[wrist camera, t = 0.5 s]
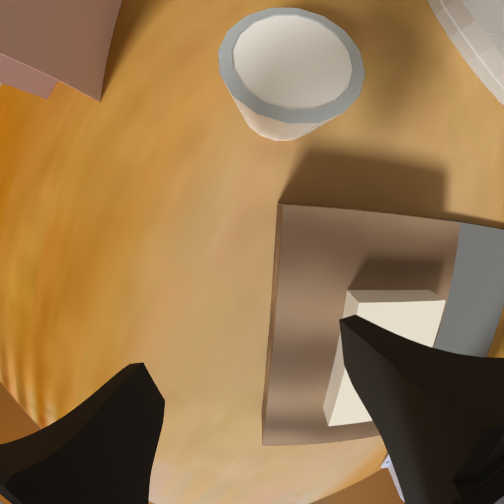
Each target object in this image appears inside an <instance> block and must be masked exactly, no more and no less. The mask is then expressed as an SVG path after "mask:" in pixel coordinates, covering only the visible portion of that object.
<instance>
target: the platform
mask: <svg viewBox="0 0 504 504" xmlns="http://www.w3.org/2000/svg"><path fill="white" fill-rule="evenodd" d="M459 229H460V223H456V222H451V221H446V220H441V219H435V218H429V217H422V216H415V215H407V214H399V213H390V212H381V211H372V210H362V209H352V208H341V207H329V206H316V205H303V204H287V203H277V218H276V236H275V253H274V268H273V283H272V298H271V311H270V325H269V337H268V349H267V361H266V373H265V384H264V394H263V405H262V445H265V446H279V445H307V444H320V443H331V442H340V441H348V440H355V439H361V438H368V437H373V436H379V435H380V433H379V431H378V429H377V427H376V426H375V424H374V422H373V421H368V422H361V423H354V424H345V425H336V426H328V423H327V420H326V416H325V413H324V409H323V405H324V401H325V397H326V394H327V390H328V386H329V381H330V377H331V373H332V369H333V364H334V360H335V355H336V350H337V345H338V340H339V335H340V324H339V319H343V313H344V307H345V301H346V294H347V290H430V291H432V292H433V293H435V294H437V295H438V296H440V297H441V298H443V299H445V300H446V301H445V305H444V309H443V313H442V317H441V321H440V324H439V328H438V331H437V334H436V338H435V341H434V344H433V348H434V345H435V342H436V339H437V336H438V333H439V329H440V326H441V322H442V319H443V315H444V311H445V307H446V303H447V299H448V295H449V290H450V286H451V281H452V276H453V271H454V265H455V259H456V252H457V245H458V238H459Z"/></svg>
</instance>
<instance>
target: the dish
mask: <svg viewBox="0 0 504 504" xmlns="http://www.w3.org/2000/svg"><path fill="white" fill-rule="evenodd" d="M427 1H428V3H429V5H430V7H431V9H432V11H433V13H434V15H435V17H436V18H437V20H438V21H439V23H440V24H441V26H442V27H443V29H444V31H445V32H446V34H447V36H448V37H449V39H450V40H451V41H452V43H453V44H454V45H455V47H456V48H457V50H458V51H459V52H460V54H461V55H462V57H463V58H464V60H465V61H466V62H467V64H468V65H469V66H470V67H471V68H472V70H473V71H474V72H475V73H476V75H477V76H478V77H479V79H480V80H481V81H482V83H483V84H484V85H485V86H486V87H487V88H488V89H489V90H490V91H491V93H492V94H493V95H494V96H495V97H496V98H497V99H498V100H499V102H500V103H501V104H503V105H504V0H427Z"/></svg>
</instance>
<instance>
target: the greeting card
mask: <svg viewBox="0 0 504 504" xmlns="http://www.w3.org/2000/svg"><path fill="white" fill-rule="evenodd" d="M121 3H122V0H0V83H3V84H6V85H9V86H12V87H15V88H17V89H20V90H23V91H26V92H29V93H32V94H34V95H37V96H40V97H43V98H45V99H47V98H48V97H49V95H50V93H51V92H52V90H53V88H54V87H55V85H56V83H57V82H58V81H60V82H62V83H64V84H66V85H68V86H70V87H72V88H74V89H76V90H78V91H80V92H82V93H84V94H86V95H88V96H90V97H92V98H93V99H95V100H97V101H99V102H100V101H101V94H102V87H103V80H104V74H105V68H106V63H107V58H108V53H109V48H110V44H111V40H112V35H113V31H114V28H115V24H116V20H117V17H118V13H119V10H120V6H121Z"/></svg>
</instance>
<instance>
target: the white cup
mask: <svg viewBox="0 0 504 504" xmlns="http://www.w3.org/2000/svg"><path fill="white" fill-rule="evenodd" d="M218 55H219V71H220V76H221V77H222V79H223V81H224V83H225V84H226V86H227V88H228V90H229V92H230V93H231V95H232V97H233V99H234V101H235V103H236V104H237V106H238V108H239V110H240V112H241V114H242V115H243V117H244V119H245V121H246V122H247V124H248V126H249V127H250V128H252V129H253V130H254V131H256V132H257V133H258V134H259V135H261V136H263V137H266V138H269V139H273V140H276V141H286V140H295V139H297V138H299V137H302V136H304V135H306V134H308V133H310V132H311V131H313V130H315V129H317V128H318V127H320V126H322V125H323V124H325V123H327V122H328V121H330V120H332V119H334V118H335V117H337V116H339V115H341V114H343V113H344V112H345V111H346V110H347V109H348V108H349V107H350V105H351V104H352V103H353V102H354V101H355V100H356V99H357V98H358V97H359V96H360V93H361V89H362V85H363V81H364V77H365V70H364V66H363V61H362V57H361V53H360V50H359V49H358V48H357V46H356V45H355V43H354V42H353V41H352V39H351V38H350V37H349V35H348V34H347V33H346V31H345V30H343V29H342V28H340V27H339V26H337V25H336V24H335V23H333V22H332V21H330V20H329V19H327V18H326V17H324V16H322V15H319V14H316V13H313V12H309V11H306V10H303V9H299V8H269V9H266V10H262V11H259V12H256V13H253V14H250V15H247V16H246V17H244V18H243V19H242V20H240V21H239V22H238V23H237V24H235V25H234V26H233V27H232V28H231V29H229V30H228V32H227V34H226V36H225V38H224V40H223V42H222V44H221V46H220V48H219V51H218Z"/></svg>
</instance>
